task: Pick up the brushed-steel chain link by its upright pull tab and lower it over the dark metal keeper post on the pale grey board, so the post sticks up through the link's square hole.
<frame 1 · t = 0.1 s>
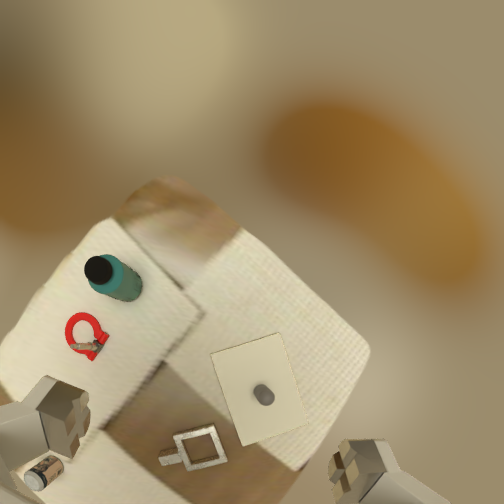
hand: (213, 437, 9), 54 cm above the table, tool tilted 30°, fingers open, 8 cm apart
steel link: (200, 446, 56), on the table
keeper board: (260, 390, 60), on the table
beer can: (55, 464, 50), on the table
tow hook: (85, 334, 58), on the table
beverage bottle: (129, 287, 62), on the table
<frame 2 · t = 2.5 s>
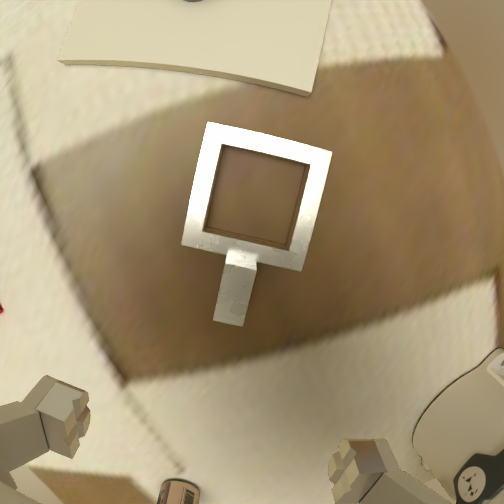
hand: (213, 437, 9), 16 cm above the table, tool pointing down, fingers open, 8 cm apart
steel link: (255, 195, 23), on the table
beer can: (181, 486, 31), on the table
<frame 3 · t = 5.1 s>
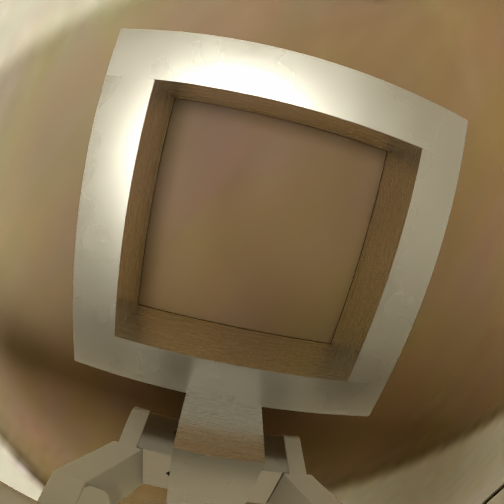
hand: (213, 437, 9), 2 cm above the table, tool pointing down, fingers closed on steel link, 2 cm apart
steel link: (259, 228, 9), on the table, touching gripper
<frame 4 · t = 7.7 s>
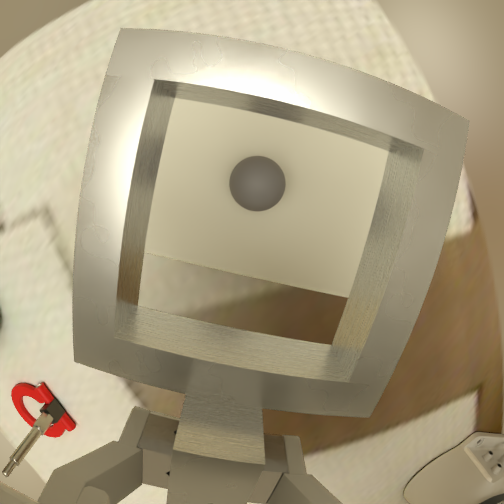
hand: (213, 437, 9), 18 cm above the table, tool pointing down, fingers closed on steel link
steel link: (259, 229, 9), point 16 cm above the table, touching gripper
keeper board: (255, 181, 24), on the table
tow hook: (41, 407, 31), on the table
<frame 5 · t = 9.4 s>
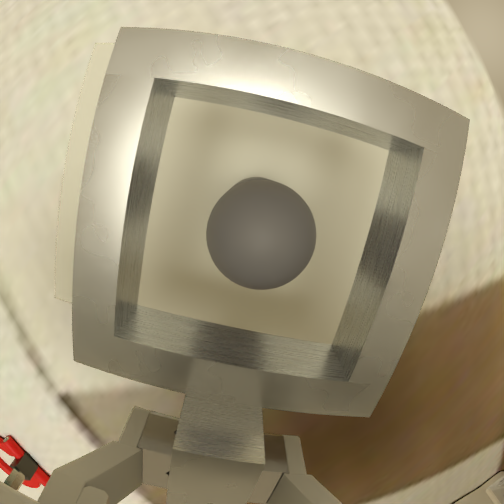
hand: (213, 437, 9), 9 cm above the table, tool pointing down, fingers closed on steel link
steel link: (259, 228, 9), point 8 cm above the table, touching gripper
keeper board: (255, 206, 16), on the table
tow hook: (14, 457, 22), on the table
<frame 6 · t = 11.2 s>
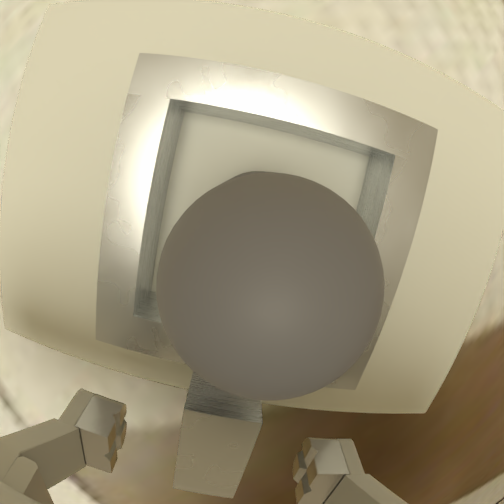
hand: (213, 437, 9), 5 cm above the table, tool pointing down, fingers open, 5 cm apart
steel link: (257, 224, 10), point 1 cm above the table, touching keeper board
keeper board: (255, 213, 12), on the table
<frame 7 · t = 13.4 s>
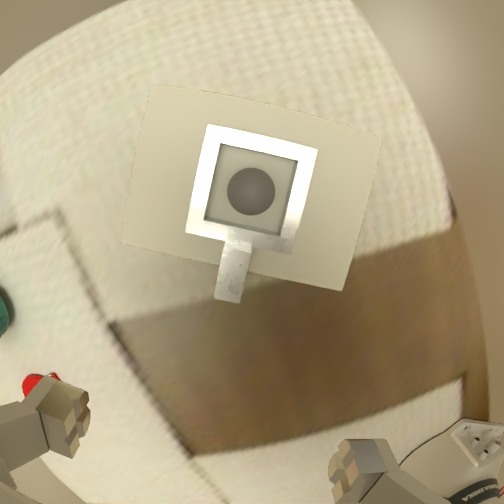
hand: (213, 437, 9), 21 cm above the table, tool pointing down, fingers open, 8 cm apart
steel link: (250, 188, 26), point 1 cm above the table, touching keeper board
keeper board: (249, 185, 27), on the table
beverage bottle: (0, 305, 30), on the table
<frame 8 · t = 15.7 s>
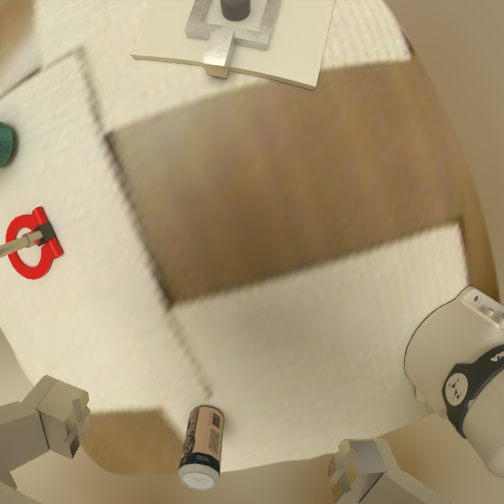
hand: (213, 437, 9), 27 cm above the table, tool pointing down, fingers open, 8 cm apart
steel link: (236, 11, 27), point 1 cm above the table, touching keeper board
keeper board: (236, 16, 29), on the table
beer can: (207, 415, 41), on the table
tow hook: (33, 244, 35), on the table
beverage bottle: (5, 146, 31), on the table
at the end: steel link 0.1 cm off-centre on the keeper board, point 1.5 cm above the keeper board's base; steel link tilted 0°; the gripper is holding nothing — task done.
